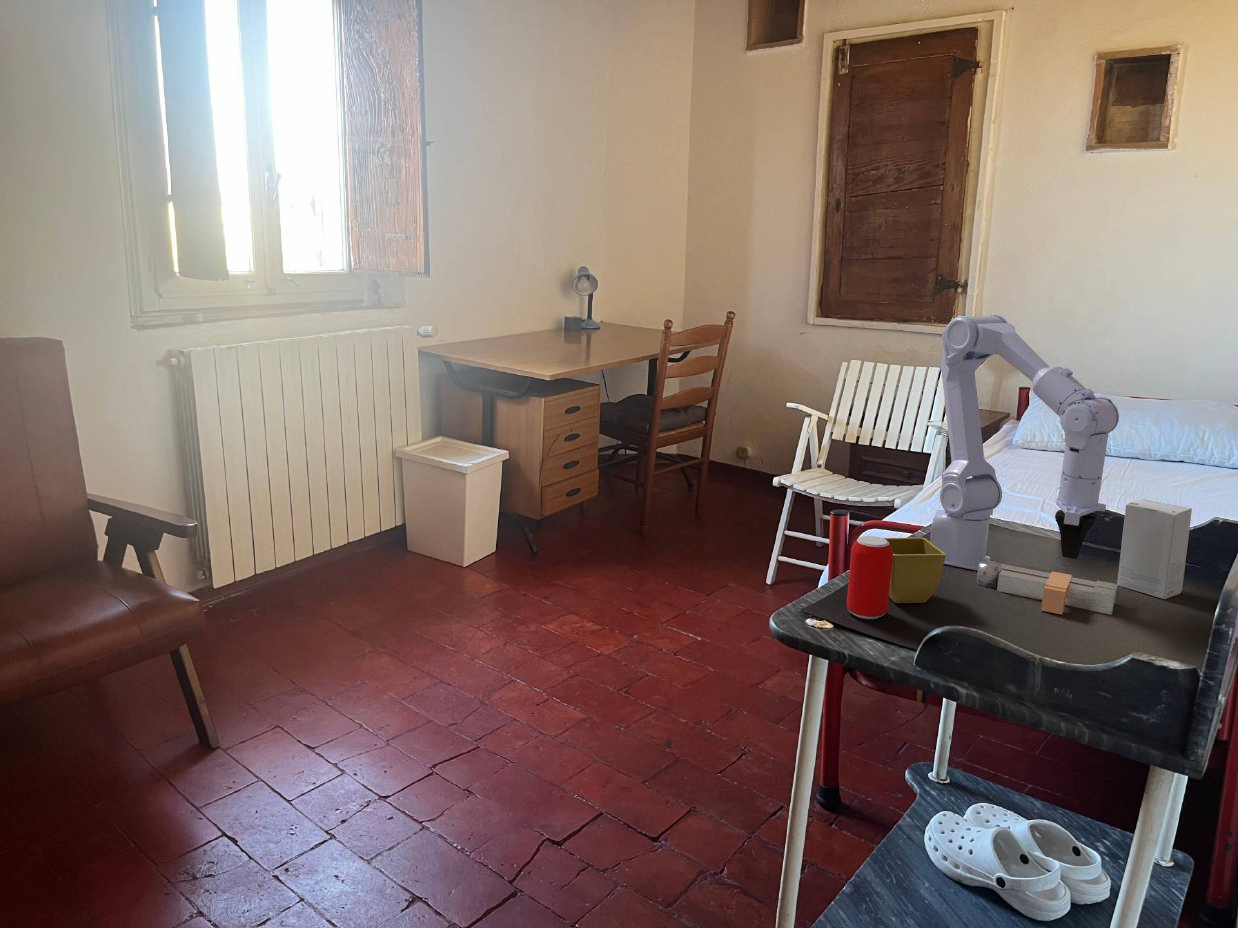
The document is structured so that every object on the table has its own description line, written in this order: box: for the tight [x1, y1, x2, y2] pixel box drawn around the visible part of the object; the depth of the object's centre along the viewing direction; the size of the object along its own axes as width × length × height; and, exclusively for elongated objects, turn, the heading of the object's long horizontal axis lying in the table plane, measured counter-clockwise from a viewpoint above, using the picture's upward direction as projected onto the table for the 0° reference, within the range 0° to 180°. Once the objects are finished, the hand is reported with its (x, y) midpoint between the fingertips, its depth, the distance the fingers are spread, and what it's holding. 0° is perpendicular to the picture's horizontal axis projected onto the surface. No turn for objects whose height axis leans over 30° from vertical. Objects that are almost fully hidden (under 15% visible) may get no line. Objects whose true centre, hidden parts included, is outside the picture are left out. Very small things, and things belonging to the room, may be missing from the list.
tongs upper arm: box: [976, 560, 1119, 609], centre depth 150 cm, size 21×5×4 cm, turn 57°
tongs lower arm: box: [996, 570, 1117, 616], centre depth 148 cm, size 17×3×3 cm, turn 58°
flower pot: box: [883, 537, 946, 604], centre depth 147 cm, size 9×9×9 cm
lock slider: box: [1040, 571, 1073, 616], centre depth 145 cm, size 3×8×4 cm, turn 148°
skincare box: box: [1116, 498, 1193, 600], centre depth 152 cm, size 8×6×15 cm
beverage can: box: [846, 535, 893, 620], centre depth 140 cm, size 6×6×12 cm
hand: (1069, 556), depth 146 cm, fingers closed
